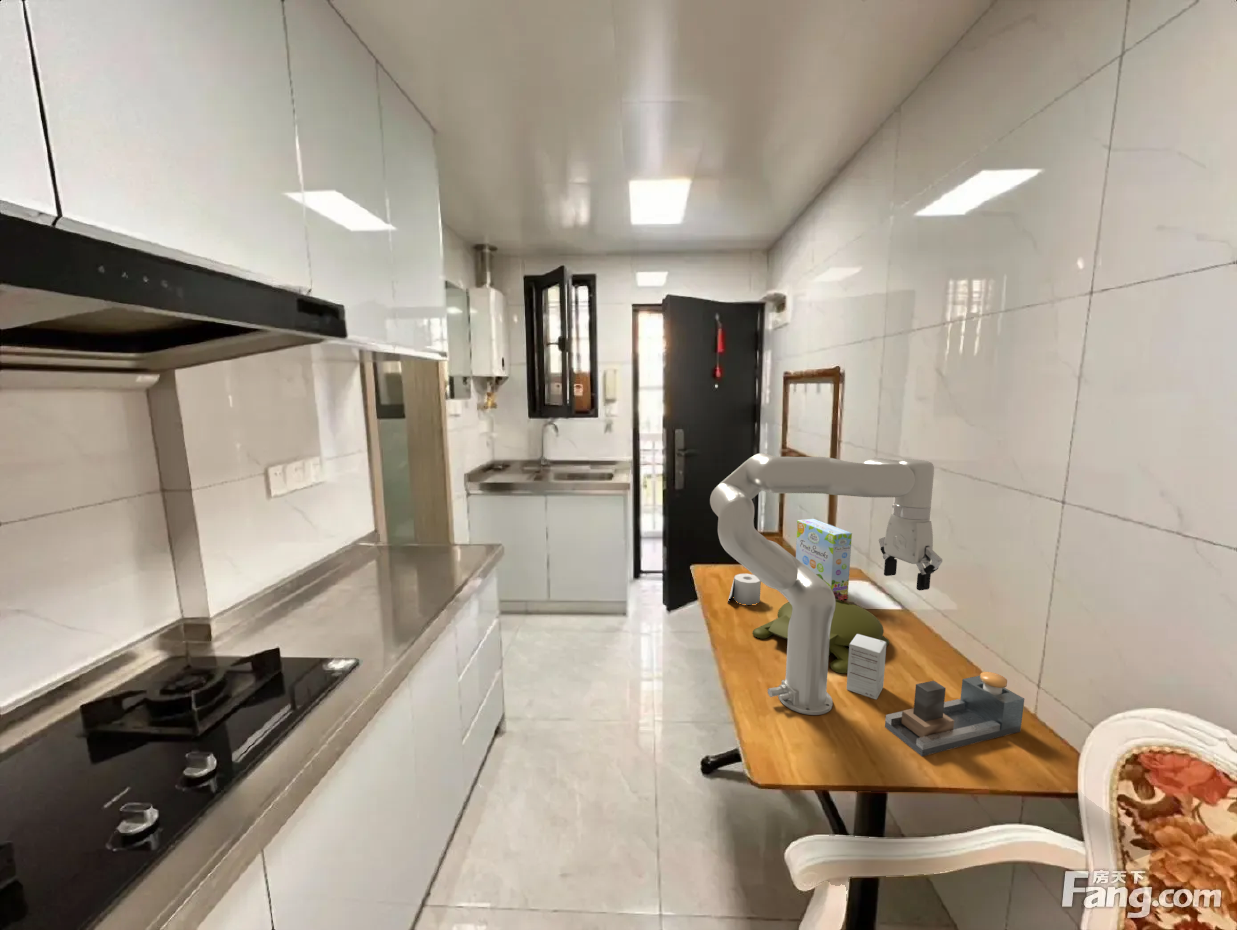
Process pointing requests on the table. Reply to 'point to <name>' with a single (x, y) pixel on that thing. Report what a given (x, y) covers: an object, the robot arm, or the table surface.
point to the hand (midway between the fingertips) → (905, 582)
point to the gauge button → (993, 682)
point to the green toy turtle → (832, 630)
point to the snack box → (825, 553)
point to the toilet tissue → (746, 589)
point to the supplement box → (866, 666)
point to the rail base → (966, 719)
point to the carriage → (928, 711)
